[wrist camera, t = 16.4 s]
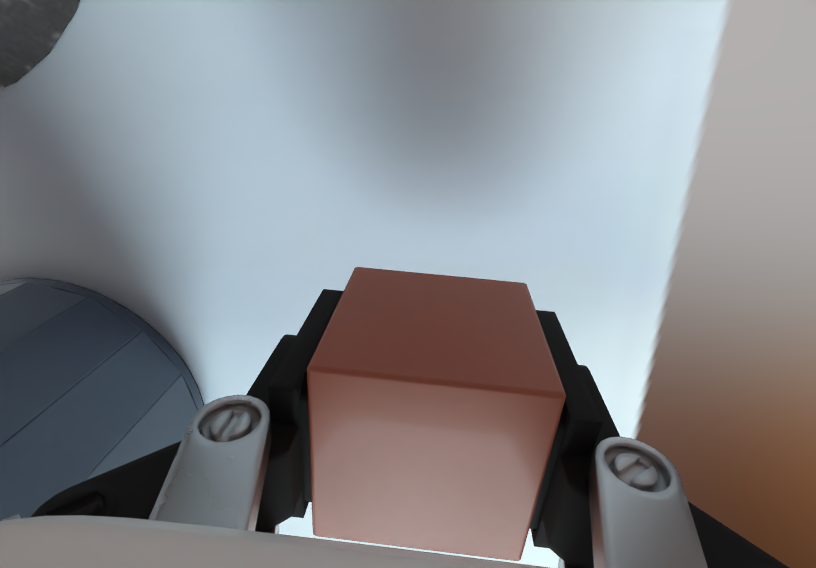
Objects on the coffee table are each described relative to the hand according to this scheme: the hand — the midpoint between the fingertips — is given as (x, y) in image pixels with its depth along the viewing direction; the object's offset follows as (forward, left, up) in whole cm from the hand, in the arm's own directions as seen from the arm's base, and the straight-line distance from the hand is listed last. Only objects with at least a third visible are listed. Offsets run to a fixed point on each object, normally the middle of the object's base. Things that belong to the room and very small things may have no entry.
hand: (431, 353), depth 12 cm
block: (0, 0, 0) cm, 0 cm away
